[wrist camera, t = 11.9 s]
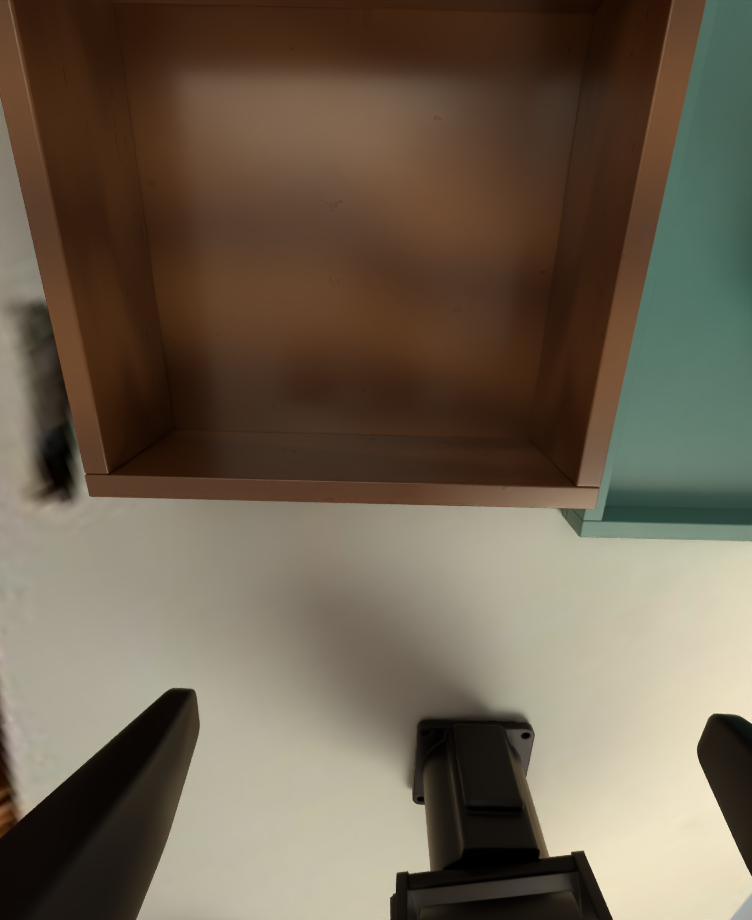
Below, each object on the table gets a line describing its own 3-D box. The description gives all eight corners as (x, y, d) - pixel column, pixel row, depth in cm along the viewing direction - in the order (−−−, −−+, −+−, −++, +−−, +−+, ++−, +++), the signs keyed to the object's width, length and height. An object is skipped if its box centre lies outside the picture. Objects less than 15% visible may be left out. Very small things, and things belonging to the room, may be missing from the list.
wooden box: (541, 453, 20) (595, 509, 15) (163, 444, 20) (89, 497, 15) (616, -11, 14) (745, -176, 9) (91, -23, 14) (-68, -194, 9)
